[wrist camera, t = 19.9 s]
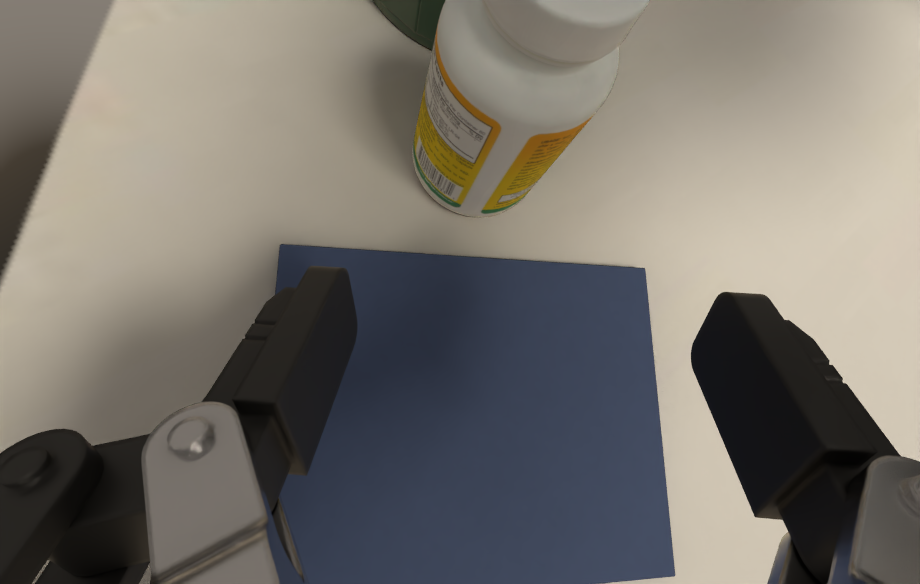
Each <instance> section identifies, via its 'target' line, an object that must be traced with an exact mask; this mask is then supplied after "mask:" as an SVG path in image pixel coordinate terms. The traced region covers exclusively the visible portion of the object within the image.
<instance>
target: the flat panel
mask: <svg viewBox="0 0 920 584" xmlns="http://www.w3.org/2000/svg"><path fill="white" fill-rule="evenodd" d="M310 266H324V267H340V268H346V269H347V271H348V274H349V278H350V283H351V289H352V294H353V299H354V305H355V310H356V315H357V337H356V342H355V345H354V348H353V351H352V353H351V356H350V359H349V362H348V364H347V367H346V370H345V373H344V375H343V378H342V381H341V384H340V386H339V389H338V392H337V395H336V397H335V400H334V403H333V406H332V408H331V411H330V414H329V416H328V419H327V422H326V425H325V427H324V430H323V433H322V436H321V438H320V441H319V444H318V447H317V449H316V452H315V455H314V458H313V460H312V463H311V466H310V469H309V471H308V474H307V476H304V475H293V474H288V475H287V477H286V480H285V482H284V485H283V487H282V490H281V492H280V495H281V498H282V501H283V504H284V507H285V510H286V513H287V516H288V519H289V522H290V526H291V529H292V532H293V535H294V538H295V541H296V544H297V547H298V550H299V553H300V556H301V560H302V563H303V566H304V569H305V572H306V575H307V578H308V581H309V584H599V583H610V582H620V581H631V580H641V579H651V578H662V577H672V576H675V569H674V558H673V548H672V538H671V528H670V518H669V507H668V497H667V487H666V477H665V467H664V456H663V446H662V436H661V426H660V416H659V405H658V395H657V385H656V375H655V365H654V354H653V344H652V334H651V324H650V314H649V303H648V293H647V283H646V273H645V268H633V267H618V266H603V265H588V264H573V263H558V262H543V261H527V260H512V259H497V258H482V257H467V256H452V255H437V254H421V253H406V252H391V251H376V250H361V249H346V248H331V247H315V246H300V245H285V244H281V245H280V251H279V261H278V271H277V281H276V291H275V295H276V294H277V293H279V292H280V291H281V290H283V289H284V288H285V287H292V288H297V286H298V284H299V282H300V281H301V279H302V277H303V276H304V274H305V272H306V270H307V269H308V268H309V267H310Z"/></svg>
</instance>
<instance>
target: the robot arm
mask: <svg viewBox="0 0 920 584" xmlns="http://www.w3.org/2000/svg"><path fill="white" fill-rule="evenodd" d="M356 337H357V315H356V310H355V305H354V299H353V294H352V289H351V283H350V278H349V274H348V271H347V269H346V268H340V267H324V266H310V267H309V268H308V269H307V270H306V272H305V274H304V276H303V277H302V279H301V281H300V282H299V284H298V286H297V288H292V287H285V288H284V289H283V290H281V291H280V292H279V293H277V294H276V295H275V296H274V297H272V298H271V299H270V300H268V301H267V302H266V303H265V305H264V307H263V308H262V310H261V311H260V313H259V314H258V316H257V317H256V319H255V324H252V325H251V327H250V328H249V330H248V331H247V333H246V335H245V339H242V341H241V342H240V344H239V345H238V347H237V349H236V350H235V352H234V353H233V355H232V356H231V358H230V359H229V361H228V363H227V364H226V366H225V367H224V369H223V370H222V372H221V373H220V375H219V377H218V378H217V380H216V381H215V383H214V384H213V386H212V388H211V389H210V391H209V392H208V394H207V395H206V397H205V398H204V399H203V401H202V402H201V403H197V404H193V405H190V406H187V407H185V408H183V409H180V410H178V411H177V412H175V413H173V414H172V415H170V416H169V417H167V418H166V419H165V420H163V421H162V422H161V423H160V424H159V425H158V426H157V427H156V428H155V429H154V430H153V432H152V433H151V434H148V435H143V436H138V437H134V438H129V439H124V440H119V441H114V442H109V443H104V444H99V445H95V446H92V445H91V444H90V443H89V442H88V441H87V440H86V439H85V438H84V437H83V436H82V435H81V434H79V433H78V432H76V431H73V430H69V429H54V430H49V431H44V432H41V433H37V434H35V435H32V436H30V437H27V438H25V439H23V440H21V441H19V442H17V443H16V444H14V445H12V446H11V447H9V448H7V449H6V450H5V451H3V452H2V453H0V584H31V583H32V582H33V580H34V579H35V577H36V576H37V574H38V573H39V571H40V570H41V568H42V567H43V565H44V564H45V563H46V561H47V560H50V562H49V563H48V565H47V566H46V568H45V569H44V571H43V572H42V574H41V575H40V577H39V578H38V580H37V581H36V583H35V584H139V582H140V581H141V579H142V577H143V575H144V573H145V571H146V569H147V567H148V565H149V563H150V566H151V581H150V584H309V581H308V578H307V575H306V572H305V569H304V566H303V563H302V560H301V556H300V553H299V550H298V547H297V544H296V541H295V538H294V535H293V532H292V529H291V526H290V522H289V519H288V516H287V513H286V510H285V507H284V504H283V501H282V498H281V495H280V492H281V490H282V487H283V485H284V482H285V480H286V477H287V475H288V474H293V475H304V476H307V474H308V471H309V469H310V466H311V463H312V460H313V458H314V455H315V452H316V449H317V447H318V444H319V441H320V438H321V436H322V433H323V430H324V427H325V425H326V422H327V419H328V416H329V414H330V411H331V408H332V406H333V403H334V400H335V397H336V395H337V392H338V389H339V386H340V384H341V381H342V378H343V375H344V373H345V370H346V367H347V364H348V362H349V359H350V356H351V353H352V351H353V348H354V345H355V342H356ZM691 363H692V368H693V371H694V373H695V376H696V378H697V380H698V383H699V385H700V387H701V390H702V392H703V395H704V397H705V399H706V402H707V404H708V406H709V409H710V411H711V414H712V416H713V418H714V421H715V423H716V425H717V428H718V430H719V433H720V435H721V437H722V440H723V442H724V444H725V447H726V449H727V452H728V454H729V456H730V459H731V461H732V463H733V466H734V468H735V471H736V473H737V475H738V478H739V480H740V482H741V485H742V487H743V490H744V492H745V494H746V497H747V499H748V501H749V504H750V506H751V509H752V511H753V513H754V516H755V517H758V518H770V519H781V520H783V521H784V523H785V525H786V527H787V530H788V533H786V534H785V535H784V536H783V538H782V539H781V542H780V544H779V548H778V551H777V554H776V557H775V561H774V564H773V567H772V570H771V574H770V577H769V580H768V583H767V584H920V462H919V461H916V460H913V459H910V458H906V457H902V456H900V455H899V454H898V452H897V451H896V450H895V448H894V447H893V446H892V444H891V443H890V441H889V440H888V439H887V437H886V436H885V435H884V433H883V432H882V431H881V429H880V428H879V427H878V425H877V424H876V423H875V421H874V420H873V419H872V417H871V416H870V415H869V413H868V412H867V411H866V409H865V408H864V407H863V405H862V404H861V403H860V401H859V400H858V398H857V397H856V396H855V394H854V393H853V392H852V390H851V389H850V388H849V386H848V385H847V384H846V383H843V382H842V380H843V378H842V377H841V376H840V374H839V373H838V372H837V370H836V369H835V368H834V366H833V365H829V360H828V358H827V357H826V355H825V354H824V353H823V351H822V350H821V349H820V347H819V346H818V345H817V343H816V342H815V341H814V339H812V338H811V337H810V336H809V335H807V334H806V333H805V332H803V331H802V330H801V329H800V328H798V327H797V326H796V325H795V324H793V323H792V322H791V321H789V320H784V319H783V317H782V316H781V315H780V313H779V312H778V310H777V309H776V308H775V306H774V305H773V303H772V302H771V300H770V299H769V298H768V297H767V296H765V295H763V294H749V293H733V292H723V293H721V294H720V295H718V297H717V298H716V299H715V301H714V303H713V305H712V307H711V309H710V311H709V313H708V315H707V317H706V319H705V321H704V323H703V324H702V326H701V328H700V330H699V332H698V334H697V336H696V338H695V340H694V342H693V345H692V350H691Z"/></svg>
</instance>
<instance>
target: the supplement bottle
mask: <svg viewBox="0 0 920 584" xmlns="http://www.w3.org/2000/svg"><path fill="white" fill-rule="evenodd" d="M649 1H650V0H445V3H444V5H443V8H442V10H441V14H440V17H439V21H438V25H437V30H436V35H435V40H434V45H433V50H432V55H431V60H430V65H429V69H428V74H427V78H426V83H425V87H424V92H423V97H422V102H421V106H420V111H419V116H418V121H417V126H416V130H415V135H414V140H413V147H412V155H413V163H414V167H415V171H416V174H417V176H418V178H419V180H420V182H421V184H422V185H423V187H424V188H425V190H426V191H427V192H428V194H429V195H430V196H431V197H432V198H433V199H435V200H436V201H437V202H438V203H439V204H441V205H442V206H444V207H445V208H447V209H449V210H451V211H453V212H456V213H458V214H461V215H465V216H470V217H490V216H494V215H497V214H500V213H502V212H504V211H506V210H508V209H510V208H512V207H513V206H515V205H516V204H518V203H519V202H520V201H521V200H522V199H523V198H524V197H525V195H526V194H527V193H528V192H529V191H530V190H531V188H532V187H533V186H534V185H535V184H536V183H537V182H538V180H539V179H540V178H541V177H542V175H543V174H544V173H545V172H546V171H547V170H548V168H549V167H550V166H551V165H552V164H553V162H554V161H555V160H556V159H557V158H558V156H559V155H560V154H561V153H562V152H563V151H564V149H565V148H566V147H567V146H568V145H569V144H570V142H571V141H572V140H573V139H574V138H575V137H576V135H577V134H578V133H579V132H580V131H581V130H582V128H583V127H584V126H585V125H586V124H587V123H588V121H589V120H590V119H591V118H592V117H593V115H594V114H595V113H596V112H597V111H598V109H599V108H600V107H601V106H602V104H603V103H604V101H605V100H606V98H607V97H608V95H609V93H610V91H611V89H612V86H613V84H614V82H615V78H616V75H617V70H618V63H619V45H620V44H621V43H622V42H623V41H624V39H625V38H626V36H627V35H628V33H629V31H630V29H631V28H632V27H633V25H634V24H635V22H636V21H637V20H638V18H639V17H640V15H641V14H642V13H643V11H644V10H645V8H646V6H647V5H648V3H649Z"/></svg>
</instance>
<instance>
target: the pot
mask: <svg viewBox="0 0 920 584" xmlns="http://www.w3.org/2000/svg"><path fill="white" fill-rule="evenodd" d="M373 1H374V3H375V4H376V5H377V7H378V8H379V9H380V10H381V12H382V13H383V14H384V15H385V16H386V17H387V18H388V19H389V20H390V21H391V22H392V23H393V24H394V25H395V26H396V27H397V28H398V29H400V30H401V31H402V32H403V33H405V34H406V35H407V36H408V37H410V38H412V39H413V40H415V41H416V42H418V43H419V44H421V45H423V46H425V47H427V48H429V49H431V50H433V45H434V40H435V35H436V30H437V25H438V21H439V17H440V14H441V10H442V8H443V5H444V3H445V0H373Z"/></svg>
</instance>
